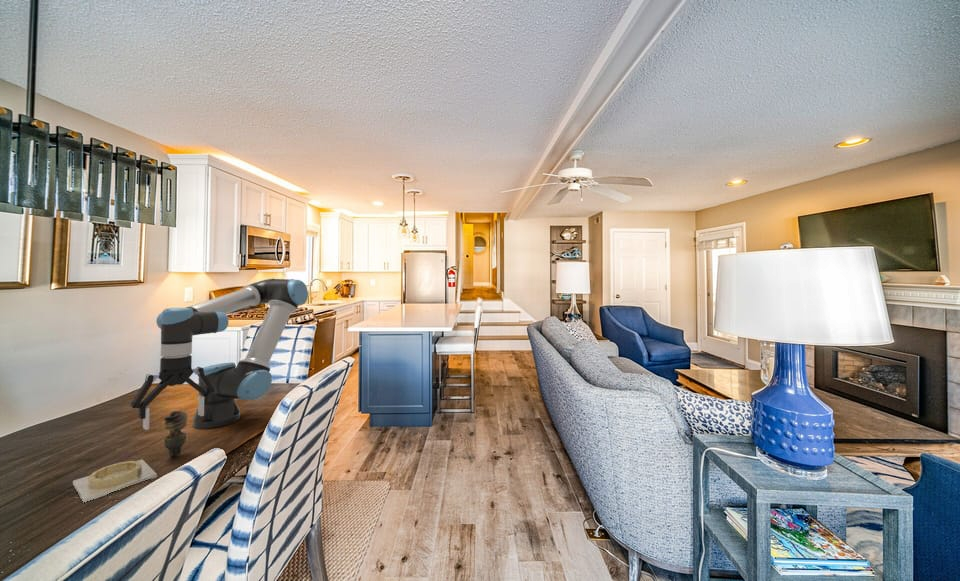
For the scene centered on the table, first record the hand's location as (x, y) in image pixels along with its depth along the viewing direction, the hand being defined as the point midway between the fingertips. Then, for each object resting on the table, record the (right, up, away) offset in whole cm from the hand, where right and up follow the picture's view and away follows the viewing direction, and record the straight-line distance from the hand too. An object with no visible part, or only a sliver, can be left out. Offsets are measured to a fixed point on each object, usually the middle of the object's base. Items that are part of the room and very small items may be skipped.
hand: (174, 421), depth 109 cm
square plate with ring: (-5, -12, -13) cm, 18 cm away
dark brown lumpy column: (0, -12, +1) cm, 12 cm away
